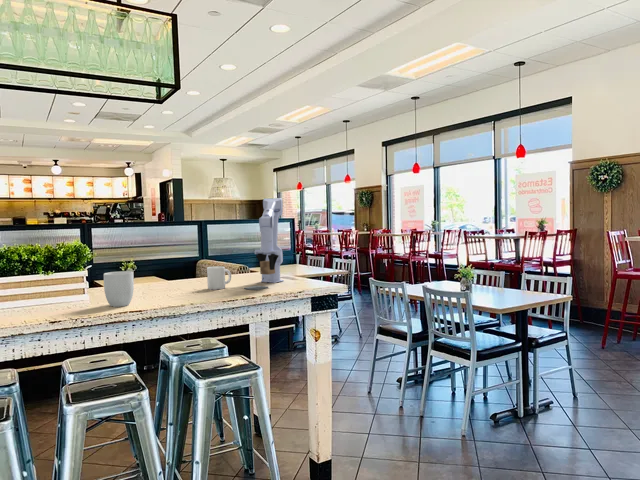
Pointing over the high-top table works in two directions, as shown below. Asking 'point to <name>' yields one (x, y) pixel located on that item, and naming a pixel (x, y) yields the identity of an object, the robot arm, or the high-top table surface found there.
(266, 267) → the walnut block
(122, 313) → the high-top table surface
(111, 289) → the mug
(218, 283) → the mug
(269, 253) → the robot arm
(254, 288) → the slate coaster
